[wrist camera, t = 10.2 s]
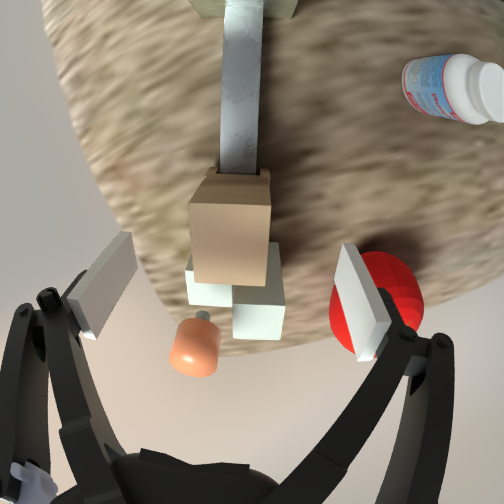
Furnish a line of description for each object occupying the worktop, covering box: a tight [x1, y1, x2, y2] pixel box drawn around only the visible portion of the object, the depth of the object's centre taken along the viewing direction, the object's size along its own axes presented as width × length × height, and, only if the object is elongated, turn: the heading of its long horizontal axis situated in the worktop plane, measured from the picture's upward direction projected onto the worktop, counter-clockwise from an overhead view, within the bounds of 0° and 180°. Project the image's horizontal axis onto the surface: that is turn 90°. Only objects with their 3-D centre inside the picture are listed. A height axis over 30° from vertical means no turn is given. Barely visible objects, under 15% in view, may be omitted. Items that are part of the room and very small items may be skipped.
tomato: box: [329, 251, 424, 357], centre depth 27 cm, size 10×11×11 cm
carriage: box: [188, 167, 271, 286], centre depth 22 cm, size 6×5×10 cm
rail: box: [188, 0, 298, 175], centre depth 17 cm, size 27×8×13 cm, turn 178°
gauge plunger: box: [169, 311, 221, 377], centre depth 20 cm, size 3×3×5 cm
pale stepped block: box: [185, 242, 285, 340], centre depth 26 cm, size 4×9×10 cm, turn 88°
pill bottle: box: [402, 54, 504, 125], centre depth 15 cm, size 6×6×11 cm
